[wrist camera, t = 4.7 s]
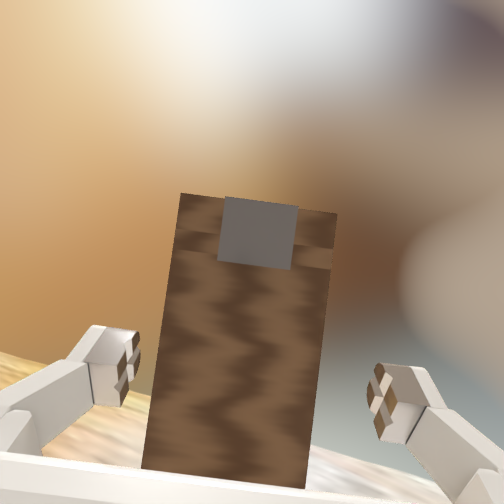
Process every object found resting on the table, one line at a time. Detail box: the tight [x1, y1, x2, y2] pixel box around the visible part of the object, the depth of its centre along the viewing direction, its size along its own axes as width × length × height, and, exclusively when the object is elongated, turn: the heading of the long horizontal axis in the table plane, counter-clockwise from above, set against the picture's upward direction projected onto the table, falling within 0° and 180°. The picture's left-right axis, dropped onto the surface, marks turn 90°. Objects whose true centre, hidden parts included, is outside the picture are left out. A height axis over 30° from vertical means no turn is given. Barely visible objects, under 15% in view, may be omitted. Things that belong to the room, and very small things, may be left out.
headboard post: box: [141, 193, 337, 489], centre depth 33 cm, size 14×10×31 cm
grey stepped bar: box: [217, 197, 298, 270], centre depth 26 cm, size 16×4×4 cm, turn 1°
